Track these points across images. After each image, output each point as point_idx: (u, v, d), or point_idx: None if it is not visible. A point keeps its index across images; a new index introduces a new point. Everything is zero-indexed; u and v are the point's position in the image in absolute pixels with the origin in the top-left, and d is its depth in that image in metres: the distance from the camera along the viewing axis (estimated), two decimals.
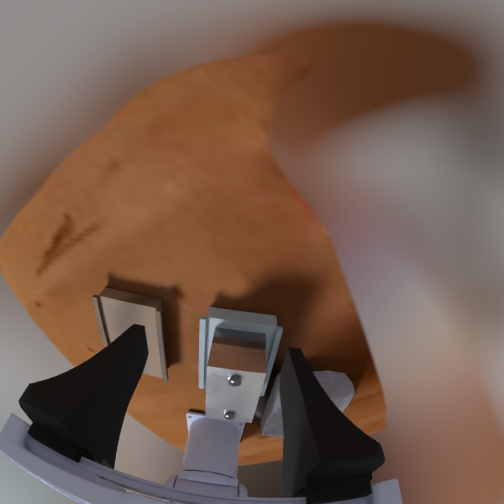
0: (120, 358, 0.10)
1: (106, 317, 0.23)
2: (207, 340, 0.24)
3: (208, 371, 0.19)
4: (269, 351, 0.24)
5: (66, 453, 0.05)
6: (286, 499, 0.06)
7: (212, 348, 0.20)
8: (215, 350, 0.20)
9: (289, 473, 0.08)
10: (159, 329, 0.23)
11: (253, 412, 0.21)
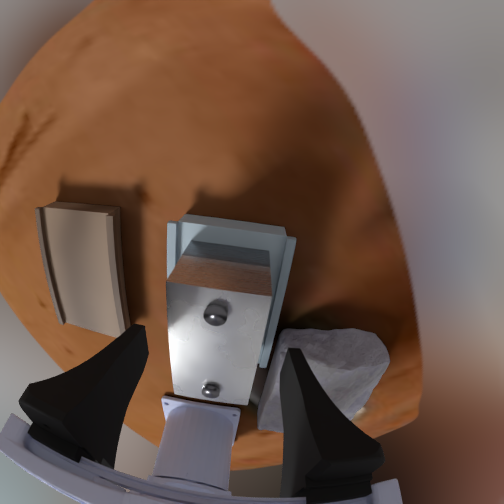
0: (120, 358, 0.10)
1: (50, 241, 0.15)
2: None
3: (169, 294, 0.11)
4: (275, 285, 0.16)
5: (66, 453, 0.05)
6: (286, 499, 0.06)
7: (181, 261, 0.13)
8: (185, 263, 0.12)
9: (289, 473, 0.08)
10: (111, 248, 0.15)
11: (250, 385, 0.13)
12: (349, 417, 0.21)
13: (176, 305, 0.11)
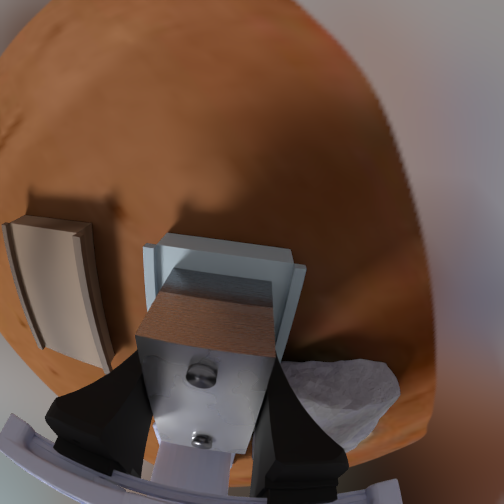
0: None
1: (20, 261, 0.12)
2: None
3: (141, 349, 0.08)
4: (278, 321, 0.13)
5: (66, 453, 0.05)
6: None
7: (157, 301, 0.09)
8: (162, 305, 0.09)
9: (256, 472, 0.08)
10: (81, 274, 0.12)
11: (247, 438, 0.10)
12: (352, 446, 0.18)
13: (151, 361, 0.08)
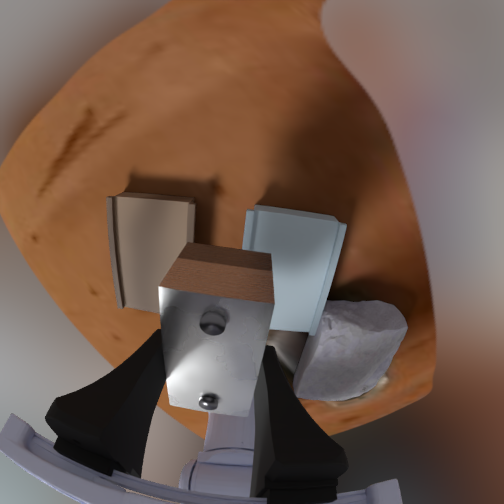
0: (149, 365, 0.10)
1: (120, 228, 0.19)
2: (252, 247, 0.19)
3: (162, 301, 0.10)
4: (328, 262, 0.20)
5: (66, 453, 0.05)
6: None
7: (176, 264, 0.12)
8: (180, 267, 0.11)
9: (256, 472, 0.08)
10: (190, 233, 0.19)
11: (250, 397, 0.12)
12: (373, 383, 0.25)
13: (170, 312, 0.10)
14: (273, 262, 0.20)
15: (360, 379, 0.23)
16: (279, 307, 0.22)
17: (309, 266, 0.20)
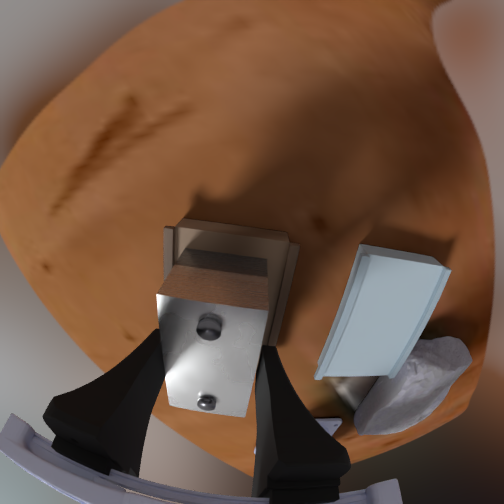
0: (147, 365, 0.10)
1: None
2: (356, 296, 0.15)
3: (160, 307, 0.10)
4: (424, 307, 0.16)
5: (66, 453, 0.05)
6: None
7: (173, 271, 0.12)
8: (178, 274, 0.12)
9: (258, 472, 0.08)
10: (287, 281, 0.14)
11: (247, 398, 0.13)
12: (429, 413, 0.20)
13: (168, 318, 0.11)
14: (374, 311, 0.16)
15: (422, 412, 0.19)
16: (368, 355, 0.17)
17: (407, 313, 0.16)
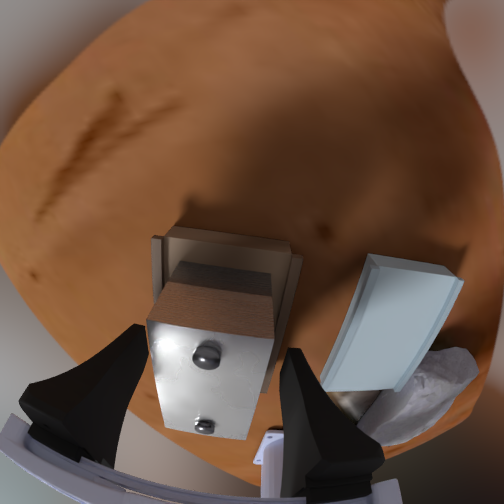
0: (120, 358, 0.10)
1: None
2: (363, 310, 0.14)
3: (151, 333, 0.09)
4: (435, 319, 0.14)
5: (66, 453, 0.05)
6: (286, 499, 0.06)
7: (166, 290, 0.10)
8: (171, 293, 0.10)
9: (289, 473, 0.08)
10: (289, 296, 0.13)
11: (248, 423, 0.11)
12: (432, 423, 0.19)
13: (160, 345, 0.09)
14: (382, 325, 0.14)
15: (426, 423, 0.18)
16: (374, 370, 0.16)
17: (417, 326, 0.14)
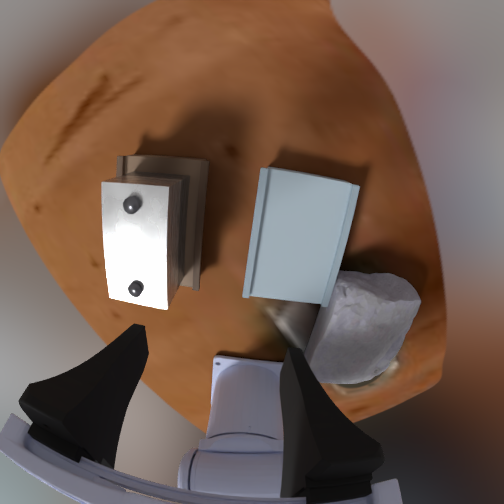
0: (120, 358, 0.10)
1: None
2: (264, 207, 0.19)
3: (103, 192, 0.14)
4: (341, 225, 0.19)
5: (66, 453, 0.05)
6: (286, 499, 0.06)
7: (118, 176, 0.16)
8: (120, 177, 0.15)
9: (289, 473, 0.08)
10: (202, 191, 0.18)
11: (164, 282, 0.16)
12: (385, 365, 0.24)
13: (107, 201, 0.14)
14: (286, 224, 0.19)
15: (373, 359, 0.22)
16: (292, 274, 0.21)
17: (322, 229, 0.19)
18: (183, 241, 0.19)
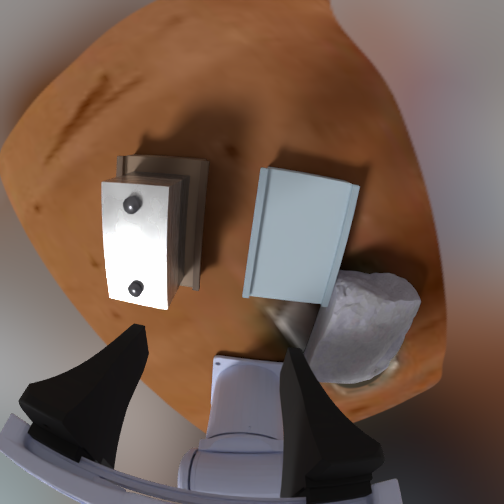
0: (120, 358, 0.10)
1: None
2: (264, 207, 0.19)
3: (103, 192, 0.14)
4: (341, 225, 0.19)
5: (66, 453, 0.05)
6: (286, 499, 0.06)
7: (118, 176, 0.16)
8: (120, 177, 0.15)
9: (289, 473, 0.08)
10: (202, 191, 0.18)
11: (164, 282, 0.16)
12: (385, 365, 0.24)
13: (107, 201, 0.14)
14: (286, 224, 0.19)
15: (373, 358, 0.23)
16: (292, 274, 0.21)
17: (322, 229, 0.19)
18: (183, 241, 0.19)
